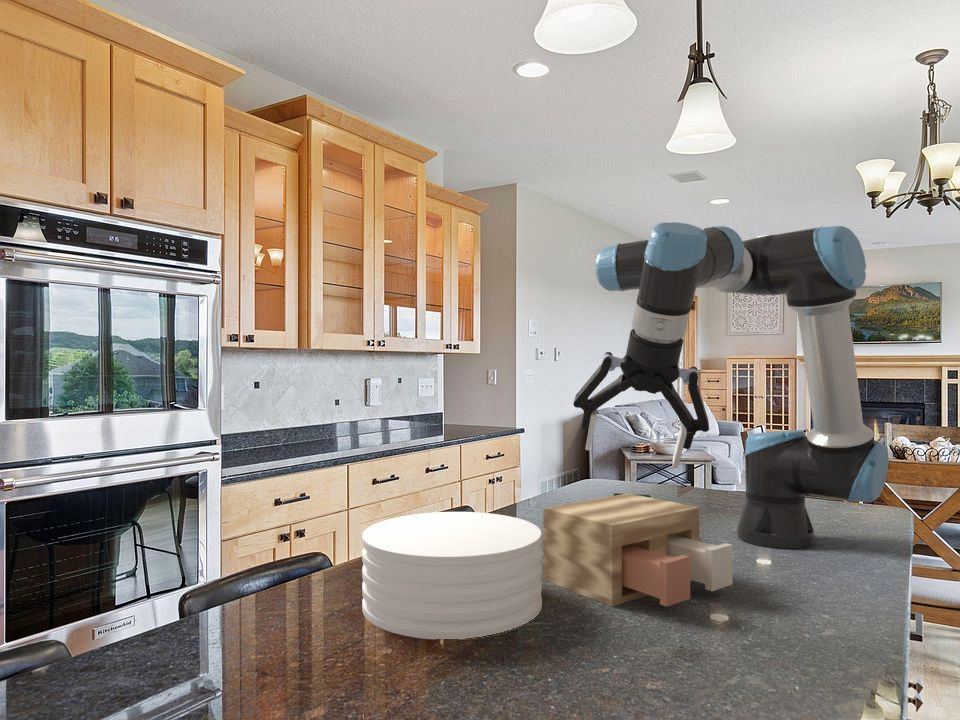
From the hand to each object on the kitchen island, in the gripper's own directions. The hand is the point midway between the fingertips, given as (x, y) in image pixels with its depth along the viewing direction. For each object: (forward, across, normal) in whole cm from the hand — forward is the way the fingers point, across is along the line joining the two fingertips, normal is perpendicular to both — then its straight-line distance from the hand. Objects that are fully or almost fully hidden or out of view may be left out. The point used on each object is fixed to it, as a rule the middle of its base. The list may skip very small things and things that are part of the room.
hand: (631, 454), depth 105 cm
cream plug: (+22, +12, 0) cm, 25 cm away
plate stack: (+23, -23, -18) cm, 37 cm away
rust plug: (+20, +4, -8) cm, 22 cm away
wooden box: (+26, +3, -1) cm, 26 cm away
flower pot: (+38, +6, +25) cm, 45 cm away
